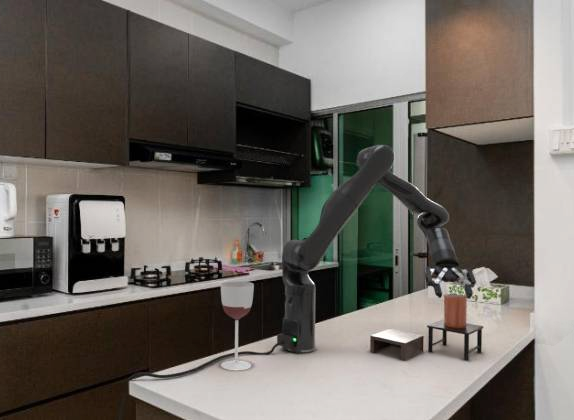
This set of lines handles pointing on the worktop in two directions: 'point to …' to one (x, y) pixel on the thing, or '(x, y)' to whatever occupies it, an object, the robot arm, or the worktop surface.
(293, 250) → the robot arm
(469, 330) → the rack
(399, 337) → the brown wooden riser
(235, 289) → the wineglass
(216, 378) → the worktop surface
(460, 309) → the cup
